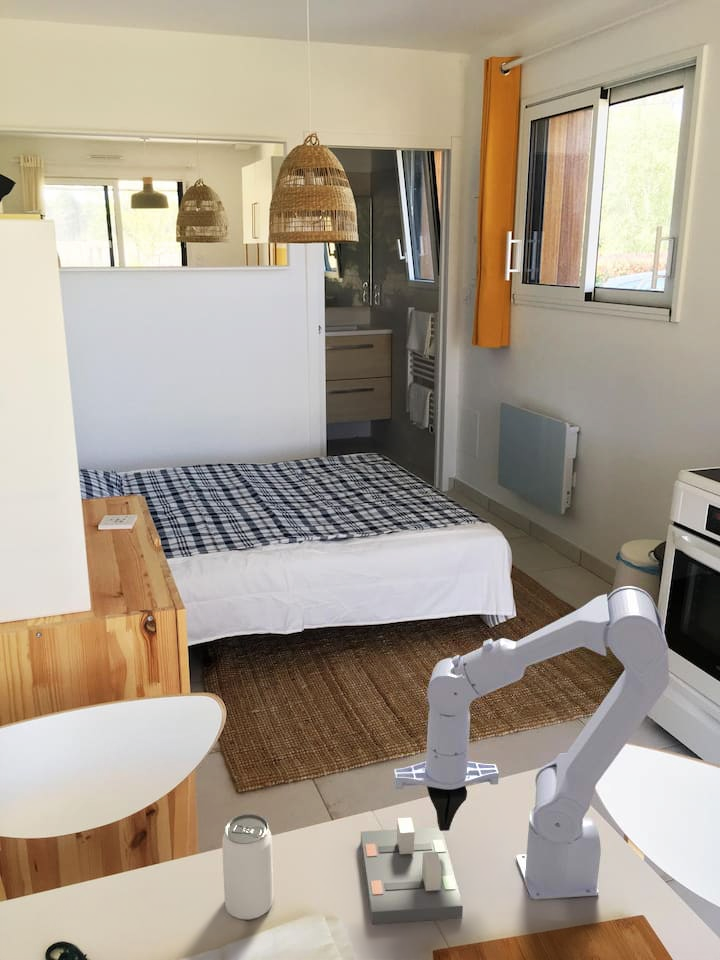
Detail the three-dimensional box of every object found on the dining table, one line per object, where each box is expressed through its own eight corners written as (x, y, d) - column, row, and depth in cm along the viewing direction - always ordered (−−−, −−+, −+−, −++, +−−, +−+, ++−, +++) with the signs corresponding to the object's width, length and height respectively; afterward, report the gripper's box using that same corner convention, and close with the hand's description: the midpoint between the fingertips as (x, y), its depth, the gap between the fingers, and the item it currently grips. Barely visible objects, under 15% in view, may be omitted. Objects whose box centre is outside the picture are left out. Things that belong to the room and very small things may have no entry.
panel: (440, 838, 123) (441, 826, 122) (462, 918, 108) (462, 905, 108) (360, 842, 121) (360, 830, 121) (371, 924, 107) (371, 911, 106)
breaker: (436, 873, 113) (437, 851, 112) (440, 890, 110) (441, 867, 109) (422, 874, 112) (422, 852, 111) (425, 890, 109) (426, 868, 108)
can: (265, 925, 107) (262, 849, 103) (217, 917, 108) (214, 841, 104) (279, 888, 113) (277, 815, 109) (234, 881, 114) (231, 808, 111)
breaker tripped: (410, 838, 119) (411, 817, 118) (413, 853, 116) (414, 832, 115) (396, 839, 119) (397, 818, 118) (399, 854, 116) (400, 832, 115)
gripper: (492, 724, 118) (486, 804, 122) (391, 729, 116) (389, 809, 120) (505, 754, 111) (498, 838, 115) (398, 759, 110) (395, 843, 113)
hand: (443, 825), depth 117 cm, fingers closed
